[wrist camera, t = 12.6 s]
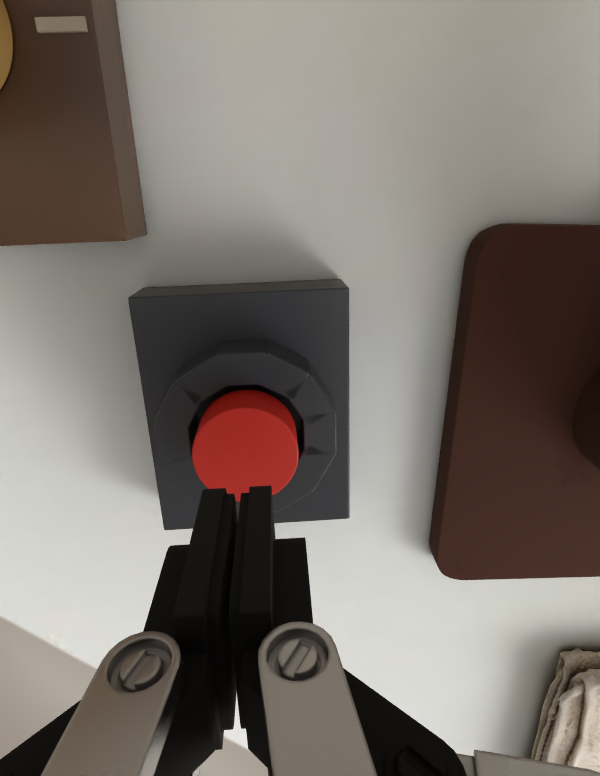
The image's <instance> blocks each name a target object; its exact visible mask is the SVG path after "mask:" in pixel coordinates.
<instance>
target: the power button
mask: <svg viewBox="0 0 600 776" xmlns="http://www.w3.org/2000/svg"><path fill="white" fill-rule="evenodd" d="M298 459H299V451H298V442H297V434H296V426H295V422H294V419H293V417H292V415H291V413H290V412H289V410H288V409H287V408H286V406H285V405H284V404H283V403H282V402H281V401H279V400H278V399H277V398H275V397H273V396H271V395H270V394H267V393H265V392H261V391H257V390H237V391H233V392H229V393H227V394H224V395H223V396H221V397H219V398H218V399H216V400H215V401H214V402H212V403H211V404H210V405H209V407H208V408H207V409H206V410H205V412H204V414H203V416H202V418H201V420H200V423H199V427H198V430H197V433H196V436H195V439H194V443H193V447H192V461H193V465H194V468H195V471H196V473H197V475H198V477H199V478H200V480H201V481H202V482H203V484H204V485H205V486H206V487H207V488H209V489H216V488H226V491H227V494H233V493H234V494H235V499H236V501H239V502H240V497H241V493H249V487H251V486H269V485H272V495H274V494H276V493H277V492H279V491H280V490H281V489H283V488H284V487H285V486H286V485H287V484H288V483H289V481H290V480H291V478H292V477H293V475H294V473H295V471H296V468H297V465H298Z"/></svg>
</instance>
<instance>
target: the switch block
mask: <svg viewBox="0 0 600 776" xmlns="http://www.w3.org/2000/svg"><path fill="white" fill-rule="evenodd" d="M128 300H129V307H130V313H131V320H132V326H133V332H134V339H135V345H136V352H137V358H138V364H139V371H140V377H141V384H142V390H143V397H144V403H145V409H146V416H147V422H148V429H149V435H150V441H151V448H152V454H153V461H154V467H155V473H156V480H157V486H158V493H159V499H160V505H161V512H162V518H163V525H164V529H165V530H175V529H191V528H194V524H195V519H196V515H197V511H198V507H199V503H200V498H201V494H202V491H203V489H209V488H207V487H206V486H205V485H204V484H203V482H202V481H201V480H200V478H199V477H198V475H197V473H196V471H195V468H194V465H193V461H192V447H193V443H194V439H195V436H196V433H197V430H198V427H199V423H200V420H201V418H202V416H203V414H204V412H205V410H206V409H207V408H208V407H209V405H210V404H211V403H212V402H214V401H215V400H216V399H218V398H219V397H221V396H223V395H224V394H227V393H229V392H233V391H237V390H257V391H261V392H265V393H267V394H270V395H271V396H273V397H275V398H277V399H278V400H279V401H281V402H282V403H283V404H284V405H285V406H286V408H287V409H288V410H289V412H290V413H291V415H292V417H293V419H294V422H295V426H296V434H297V442H298V451H299V459H298V465H297V468H296V471H295V473H294V475H293V477H292V478H291V480H290V481H289V483H288V484H287V485H286V486H285V487H284V488H283V489H281V490H280V491H279V492H277V493H276V494H274V495H272V496H273V512H274V523H284V522H300V521H315V520H331V519H347V518H349V288H348V287H347V286H346V285H345V283H344V282H343V281H342V280H341V279H329V280H307V281H285V282H263V283H241V284H219V285H197V286H174V287H152V288H142V289H141V290H139V291H138V292H136V293H135V294H134V295H132V296H131V297H129V299H128ZM239 507H240V502H239V501H236V510H237V520H238V516H239Z"/></svg>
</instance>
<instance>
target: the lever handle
mask: <svg viewBox="0 0 600 776" xmlns="http://www.w3.org/2000/svg"><path fill="white" fill-rule="evenodd" d="M429 544H430V549H431V552H432V555H433V557H434V559H435V561H436V563H437V566H438V568H439V570H440V571H441V572H442V574H444V575H445V576H447V577H450V578H453V579H458V580H484V579H522V578H559V577H597V576H600V225H577V224H499V225H495V226H492V227H489V228H487V229H485V230H483V231H482V232H480V233H479V234H478V235H477V236H476V237H475V238H474V240H473V241H472V243H471V245H470V247H469V249H468V252H467V254H466V258H465V263H464V270H463V278H462V286H461V293H460V301H459V309H458V317H457V325H456V333H455V341H454V349H453V357H452V365H451V372H450V380H449V388H448V396H447V404H446V412H445V420H444V428H443V436H442V444H441V451H440V459H439V467H438V475H437V483H436V491H435V499H434V507H433V515H432V523H431V531H430V539H429Z"/></svg>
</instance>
